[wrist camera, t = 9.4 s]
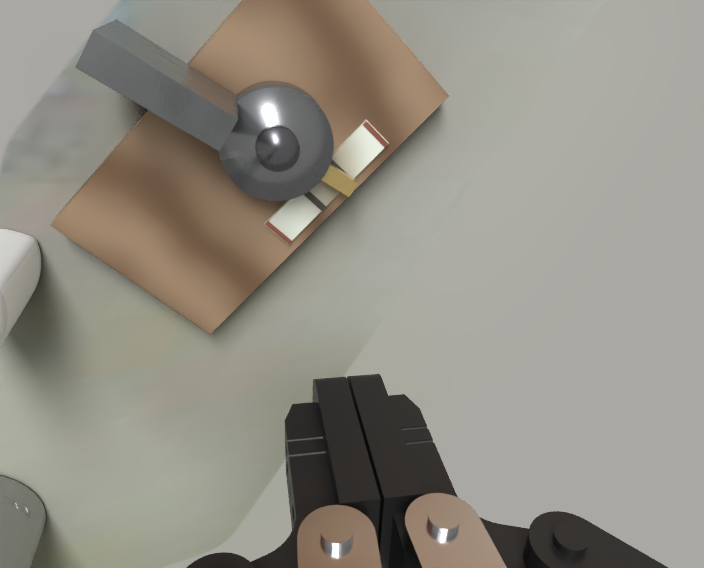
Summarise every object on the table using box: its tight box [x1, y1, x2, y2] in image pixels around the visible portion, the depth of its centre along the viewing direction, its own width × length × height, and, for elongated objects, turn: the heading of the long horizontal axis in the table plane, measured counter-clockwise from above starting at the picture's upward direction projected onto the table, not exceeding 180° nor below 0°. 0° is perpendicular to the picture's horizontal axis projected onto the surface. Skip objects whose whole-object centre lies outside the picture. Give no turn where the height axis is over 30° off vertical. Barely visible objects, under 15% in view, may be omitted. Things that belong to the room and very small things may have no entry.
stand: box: [51, 0, 449, 334], centre depth 36 cm, size 22×12×2 cm, turn 134°
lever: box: [75, 19, 358, 201], centre depth 31 cm, size 6×16×6 cm, turn 55°
